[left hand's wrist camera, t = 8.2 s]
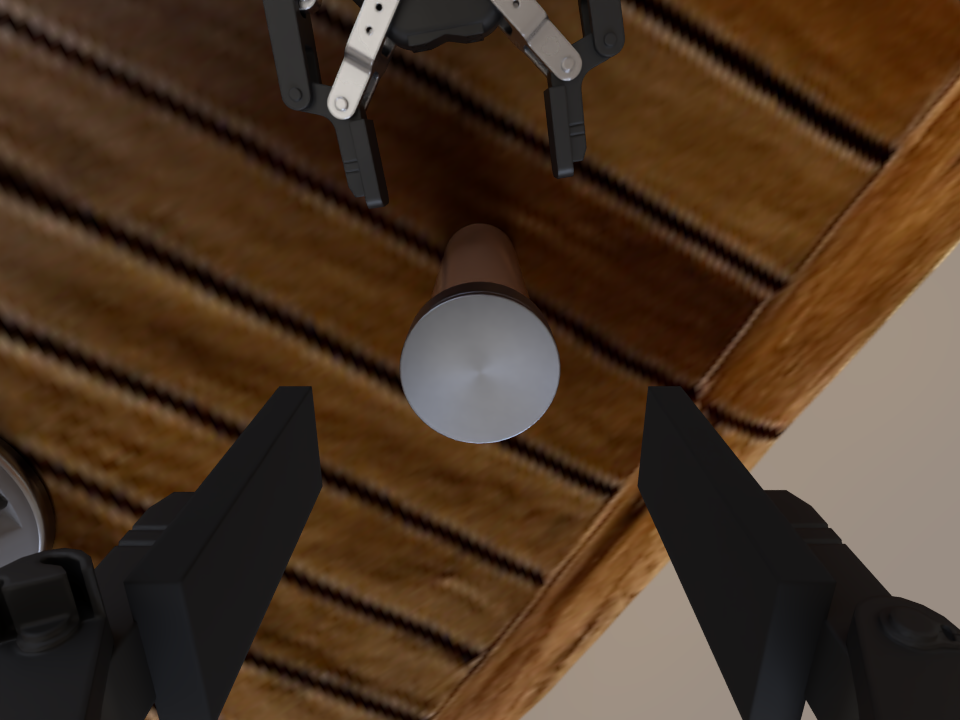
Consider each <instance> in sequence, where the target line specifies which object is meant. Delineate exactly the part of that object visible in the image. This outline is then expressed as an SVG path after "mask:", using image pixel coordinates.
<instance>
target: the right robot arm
mask: <svg viewBox="0 0 960 720" xmlns="http://www.w3.org/2000/svg"><path fill="white" fill-rule="evenodd" d="M353 1H354V2H355V3H356V4H357V5H358V6H359V7H360V8H361V10H360V12H359V15H358V17H357V20H356V22H355V25H354V27H353V30H352V32H351V34H350V37H349V39H348V42H347V45H346V48H345V55H344V59H343V62H342V65H341V67H340V69H339V72H338V74H337V77H336V79H335V82H334V84H333V87H332V86H327V85H322V81H321V76H320V70H319V64H318V58H317V53H316V47H315V41H314V35H313V29H312V24H311V18H310V14H312V13H315V12H316V11H317V10H318V9H319V8H320V6H321V3H322V0H263V4H264V9H265V14H266V19H267V24H268V29H269V34H270V40H271V45H272V50H273V55H274V60H275V65H276V70H277V75H278V80H279V85H280V90H281V96H282V99H283V101H284V103H285V104H286V105H287V106H288V107H289V108H291V109H293V110H298V111H303V112H308V113H313V114H318V115H322V116H324V117H326V118H328V119H329V120H330V121H331V122H332V124H333V125H334V127H335V130H336V134H337V138H338V142H339V147H340V151H341V156H342V160H343V163H344V169H345V172H346V178H347V182H348V186H349V188H350V190H351V191H352V193H353V194H354V196H355V197H361V196H365V199H366V203H367V206H368V208H369V209H372V208H378V207H384V206H386V205H387V204H388V203H389V197H388V191H387V187H386V182H385V177H384V172H383V167H382V162H381V158H380V153H379V148H378V143H377V138H376V133H375V128H374V124H373V120H368V119H367V116H366V110H367V108H368V106H369V103H370V101H371V99H372V96H373V94H374V92H375V89H376V87H377V85H378V82H379V80H380V78H381V77H382V76H383V74H384V73H385V71H386V69H387V67H388V64H389V62H390V60H391V57H392V55H393V53H394V51H395V48H396V46H399V47H401V48H403V49H407V50H412V51H413V52H414V53H416V52H422V51H427V50H432V49H434V48H436V47H438V46H440V45H441V44H443V43H445V42H458V43H472V42H478V41H483V40H484V37H486V36H488V35H489V34H491V33H492V32H493V31H494V30H495V29H496V28H497V27H499V28H500V29H501V30H502V31H503V33H504V34H505V35H506V36H507V37H508V38H509V39H510V40H511V41H512V42H513V44H514V45H515V46H516V47H517V48H518V49H519V50H521V51H522V52H523V53H525V54H526V55H527V57H528V58H529V59H530V60H531V61H532V62H533V63H534V64H535V65H536V66H537V68H538V69H539V70H540V71H541V72H542V73H543V74H544V75H545V76H546V77H547V81H548V89H546V90H545V91H544V100H545V109H546V118H547V127H548V136H549V145H550V154H551V163H552V171H553V175H554V177H555V178H557V179H559V178H565V177H571V176H573V174H574V169H573V162H576V161H582V160H583V158H584V155H585V151H586V137H585V126H584V115H583V104H582V93H581V84H582V80H583V78H584V76H585V74H586V73H587V72H588V71H589V70H590V69H592V68H594V67H595V66H597V65H599V64H600V63H602V62H604V61H606V60H608V59H609V58H610V57H613V56H614V55H616V54H617V53H619V52H620V51H621V49H622V48H623V45H624V42H625V35H624V27H623V19H622V10H621V2H620V0H578V5H579V12H580V19H581V26H582V33H583V38H582V39H580V40H579V41H577V42H576V43H574V44H572V45H571V44H570V43H569V42H568V41H567V40H566V38H565V37H564V36H563V35H562V34H561V33H560V32H559V31H558V29H557V28H556V27H555V26H554V25H553V24H552V23H551V21H550V20H549V18H548V16H547V14H546V13H545V11H544V10H543V9H542V7H541V6H540V5H539V4H538V3H537V2H536V1H535V0H353ZM369 30H370V31H369Z"/></svg>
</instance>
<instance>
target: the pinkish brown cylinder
mask: <svg viewBox="0 0 960 720" xmlns="http://www.w3.org/2000/svg"><path fill="white" fill-rule="evenodd" d="M469 282H492V283H497V284H501V285H504V286H507V287H510V288H512V289H514V290H516V291H518V292H520V293H521V294H523V295H524V296H526V297H527V298H529V295H528V292H527V289H526V285H525V282H524V279H523V276H522V272H521V269H520V266H519V262H518V259H517V256H516V253H515V249H514V246H513V244H512V242H511V240H510V239H509V238H508V236H507V235H506V234H505V233H504V232H503V231H501V230H500V229H498V228H496V227H494V226H492V225H488V224H472V225H468V226H466V227H464V228H462V229H460V230H459V231H457V232H456V233H455V234H454V235H453V236H452V237H451V239H450V240H449V242H448V244H447V246H446V249H445V252H444V256H443V259H442V262H441V265H440V269H439V272H438V275H437V279H436V282H435V285H434V288H433V292H432V295H431V298H430V299H432V298H433V297H434V296H436V295H437V294H439V293H440V292H442V291H444V290H446V289H448V288H450V287H453V286H456V285H459V284H463V283H469Z"/></svg>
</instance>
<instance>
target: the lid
mask: <svg viewBox="0 0 960 720" xmlns="http://www.w3.org/2000/svg"><path fill="white" fill-rule="evenodd" d="M559 378H560V359H559V353H558V350H557V346H556V343H555V340H554V338H553V335H552V332H551V329H550V327H549V325H548V322H547V320H546V319H545V317H544V315H543V314H542V312H541V311H540V310H539V309H538V307H537V306H536V305H535V304H534V303H533V302H532V301H531V300H530V299H529V298H527V297H526V296H524V295H523V294H521V293H520V292H518V291H516V290H514V289H512V288H510V287H507V286H504V285H501V284H497V283H492V282H469V283H463V284H459V285H456V286H453V287H450V288H448V289H446V290H444V291H442V292H440V293H439V294H437V295H436V296H434V297H433V298H432V299H430V300H429V301H428V302H427V303H426V304H425V305H424V306H423V307H422V308H421V310H420V311H419V312H418V314H417V315H416V317H415V319H414V321H413V322H412V324H411V327H410V329H409V332H408V335H407V338H406V340H405V343H404V346H403V349H402V353H401V358H400V379H401V384H402V388H403V391H404V394H405V396H406V399H407V401H408V402H409V404H410V406H411V408H412V409H413V410H414V412H415V413H416V414H417V415H418V417H419V418H420V419H421V420H422V421H423V422H424V423H426V424H427V425H428V426H429V427H431V428H432V429H434V430H435V431H437V432H438V433H440V434H442V435H444V436H447V437H449V438H452V439H455V440H458V441H463V442H468V443H492V442H498V441H502V440H505V439H508V438H511V437H513V436H516V435H518V434H520V433H521V432H523V431H525V430H526V429H528V428H529V427H531V426H532V425H533V424H534V423H535V422H537V421H538V420H539V419H540V418H541V417H542V415H543V414H544V413H545V412H546V411H547V409H548V407H549V406H550V404H551V403H552V401H553V398H554V396H555V394H556V391H557V388H558V384H559Z"/></svg>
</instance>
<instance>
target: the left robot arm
mask: <svg viewBox="0 0 960 720" xmlns="http://www.w3.org/2000/svg"><path fill="white" fill-rule="evenodd" d="M321 488H322V477H321V468H320V459H319V450H318V440H317V431H316V422H315V413H314V404H313V394H312V386H279V388H278V389H277V390H276V391H275V393H274V394H273V395H272V396H271V398H270V399H269V400H268V401H267V403H266V404H265V405H264V406H263V408H262V409H261V410H260V411H259V413H258V414H257V415H256V416H255V418H254V419H253V420H252V421H251V423H250V424H249V425H248V426H247V428H246V429H245V430H244V431H243V433H242V434H241V435H240V436H239V438H238V439H237V440H236V441H235V443H234V444H233V445H232V446H231V448H230V449H229V450H228V451H227V453H226V454H225V455H224V456H223V458H222V459H221V460H220V461H219V463H218V464H217V465H216V466H215V468H214V469H213V470H212V471H211V473H210V474H209V475H208V476H207V478H206V479H205V480H204V481H203V483H202V484H201V485H200V486H199V488H198V489H197V490H196V491H195V492H173V493H172V494H170V495H169V496H167V497H166V498H164V499H162V500H161V501H159V502H158V503H156V504H155V505H153V506H151V507H150V508H149V509H148V510H147V511H146V512H145V513H144V514H143V515H142V517H141V518H140V519H139V520H138V521H137V522H136V523H135V524H134V526H133V529H132V530H129V531H128V532H127V533H126V535H125V536H124V537H123V538H122V539H121V540H120V541H119V545H118V546H115V547H114V548H113V549H112V550H111V551H110V553H109V554H108V555H107V556H106V557H105V558H104V559H103V560H102V562H101V563H100V564H99V565H98V566H97V567H96V568H95V569H94V567H93V563H92V560H91V557H90V556H89V555H87V554H86V553H84V552H83V551H82V550H76V549H68V548H61V549H53V550H52V547H53V543H54V539H55V518H54V512H53V508H52V505H51V502H50V499H49V496H48V494H47V492H46V490H45V488H44V486H43V484H42V482H41V481H40V479H39V478H38V476H37V475H36V473H35V472H34V470H33V469H32V468H31V466H30V465H29V464H28V463H27V462H26V461H25V460H24V458H23V457H22V456H21V455H20V454H19V453H18V452H17V451H15V450H14V449H13V448H12V447H11V446H10V445H9V444H7V443H6V442H5V441H4V440H2V439H1V438H0V720H144V719H145V717H146V716H147V714H148V712H149V711H150V709H151V707H152V705H153V704H154V702H155V705H156V709H157V713H158V716H159V720H217V719H218V717H219V715H220V713H221V711H222V708H223V706H224V704H225V702H226V699H227V697H228V695H229V693H230V691H231V688H232V686H233V684H234V682H235V679H236V677H237V675H238V673H239V671H240V668H241V666H242V664H243V662H244V659H245V657H246V655H247V653H248V651H249V648H250V646H251V644H252V642H253V639H254V637H255V635H256V633H257V631H258V628H259V626H260V624H261V622H262V619H263V617H264V615H265V613H266V611H267V608H268V606H269V604H270V602H271V599H272V597H273V595H274V593H275V591H276V588H277V586H278V584H279V582H280V579H281V577H282V575H283V573H284V570H285V568H286V566H287V564H288V562H289V559H290V557H291V555H292V553H293V550H294V548H295V546H296V544H297V542H298V539H299V537H300V535H301V533H302V530H303V528H304V526H305V524H306V522H307V519H308V517H309V515H310V513H311V510H312V508H313V506H314V504H315V502H316V499H317V497H318V495H319V493H320V490H321ZM638 488H639V490H640V493H641V495H642V497H643V499H644V502H645V504H646V506H647V508H648V510H649V513H650V515H651V517H652V519H653V522H654V524H655V526H656V528H657V530H658V533H659V535H660V537H661V539H662V542H663V544H664V546H665V548H666V550H667V553H668V555H669V557H670V559H671V562H672V564H673V566H674V568H675V570H676V573H677V575H678V577H679V579H680V582H681V584H682V586H683V588H684V590H685V593H686V595H687V597H688V599H689V602H690V604H691V606H692V608H693V610H694V613H695V615H696V617H697V619H698V622H699V624H700V626H701V628H702V630H703V633H704V635H705V637H706V639H707V642H708V644H709V646H710V648H711V650H712V653H713V655H714V657H715V659H716V662H717V664H718V666H719V668H720V670H721V673H722V675H723V677H724V679H725V682H726V684H727V686H728V688H729V690H730V693H731V695H732V697H733V699H734V702H735V704H736V706H737V708H738V711H739V713H740V715H741V717H742V719H743V720H801V716H802V712H803V709H804V705H805V701H807V702H808V704H809V706H810V707H811V709H812V711H813V713H814V714H815V716H816V718H817V720H960V629H958V628H957V627H956V626H955V625H954V624H952V623H951V622H950V621H949V620H947V619H946V618H945V617H944V616H942V615H940V614H938V613H937V612H935V611H933V610H931V609H929V608H927V607H926V606H924V605H921V604H919V603H916V602H913V601H910V600H907V599H904V598H901V597H894V596H891V594H890V593H889V592H888V591H887V590H886V589H885V588H884V587H883V586H882V584H881V583H880V582H879V581H878V580H877V579H876V578H875V577H874V575H873V574H872V573H871V572H870V571H869V570H868V569H867V568H866V567H865V565H864V564H863V563H862V562H861V561H860V560H859V559H858V558H857V556H856V555H855V554H854V553H853V552H852V551H851V550H850V549H849V548H848V546H847V545H846V544H842V540H841V539H840V538H839V536H838V535H837V534H836V533H835V532H834V531H833V530H832V529H831V528H828V524H827V523H826V522H825V521H824V520H823V519H822V517H821V516H820V515H819V514H818V513H817V512H816V511H815V510H814V508H813V507H812V506H810V505H809V504H807V503H806V502H804V501H803V500H801V499H799V498H798V497H796V496H795V495H793V494H792V493H790V492H788V491H787V490H763V489H762V488H761V486H760V485H759V484H758V483H757V481H756V480H755V479H754V478H753V476H752V475H751V474H750V473H749V471H748V470H747V469H746V468H745V466H744V465H743V464H742V463H741V461H740V460H739V459H738V458H737V456H736V455H735V454H734V453H733V451H732V450H731V449H730V448H729V446H728V445H727V444H726V443H725V441H724V440H723V439H722V438H721V436H720V435H719V434H718V433H717V431H716V430H715V429H714V428H713V426H712V425H711V424H710V423H709V421H708V420H707V419H706V418H705V416H704V415H703V414H702V413H701V411H700V410H699V409H698V408H697V406H696V405H695V404H694V403H693V401H692V400H691V399H690V398H689V396H688V395H687V394H686V393H685V391H684V390H683V389H682V388H681V386H648V394H647V404H646V413H645V422H644V431H643V441H642V450H641V459H640V468H639V477H638Z"/></svg>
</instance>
